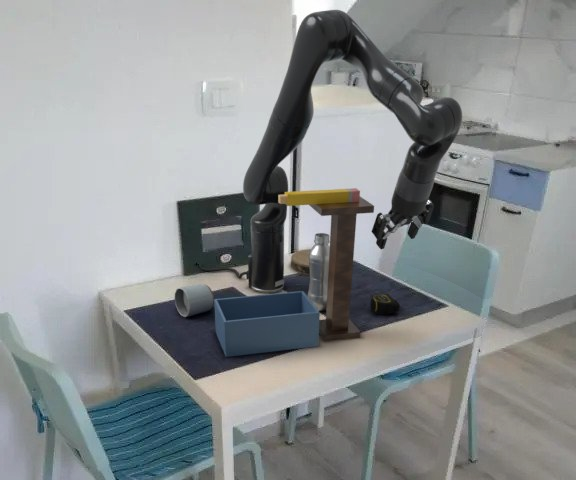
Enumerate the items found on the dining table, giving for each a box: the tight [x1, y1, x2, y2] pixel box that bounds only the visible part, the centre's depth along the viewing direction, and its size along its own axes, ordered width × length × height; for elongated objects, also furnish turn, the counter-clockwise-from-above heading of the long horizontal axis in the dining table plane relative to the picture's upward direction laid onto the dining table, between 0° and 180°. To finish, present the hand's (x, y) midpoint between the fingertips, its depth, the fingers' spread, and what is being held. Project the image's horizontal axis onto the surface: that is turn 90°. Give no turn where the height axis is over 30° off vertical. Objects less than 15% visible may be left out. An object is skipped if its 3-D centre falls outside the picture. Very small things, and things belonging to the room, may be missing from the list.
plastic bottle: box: [306, 232, 330, 312], centre depth 160 cm, size 6×7×20 cm
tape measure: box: [369, 293, 401, 315], centre depth 163 cm, size 7×7×4 cm
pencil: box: [278, 187, 361, 207], centre depth 135 cm, size 18×2×2 cm, turn 106°
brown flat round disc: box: [290, 248, 311, 276], centre depth 192 cm, size 16×16×3 cm
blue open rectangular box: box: [213, 290, 321, 358], centre depth 146 cm, size 22×13×9 cm, turn 106°
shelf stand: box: [308, 196, 375, 342], centre depth 145 cm, size 12×10×32 cm
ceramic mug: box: [174, 283, 215, 318], centre depth 160 cm, size 11×8×8 cm
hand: (395, 241), depth 146 cm, fingers open, 8 cm apart
